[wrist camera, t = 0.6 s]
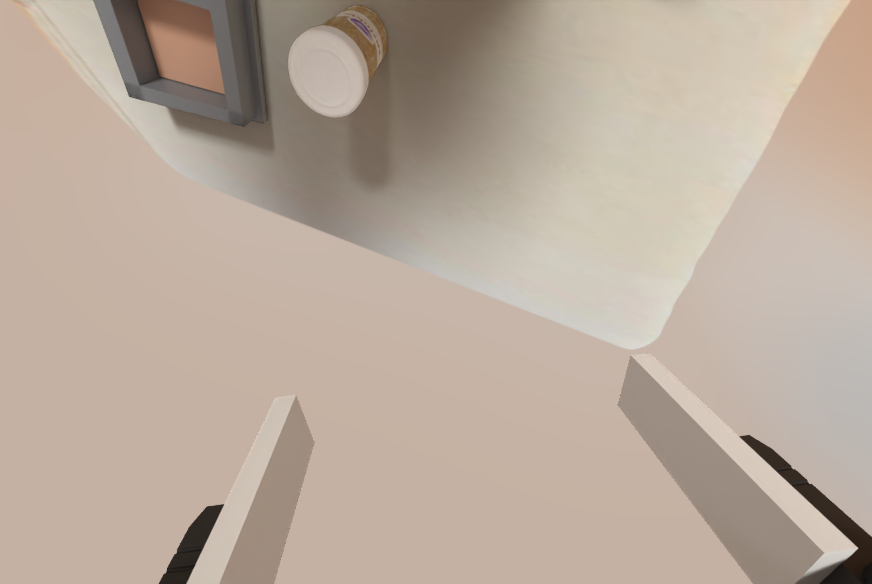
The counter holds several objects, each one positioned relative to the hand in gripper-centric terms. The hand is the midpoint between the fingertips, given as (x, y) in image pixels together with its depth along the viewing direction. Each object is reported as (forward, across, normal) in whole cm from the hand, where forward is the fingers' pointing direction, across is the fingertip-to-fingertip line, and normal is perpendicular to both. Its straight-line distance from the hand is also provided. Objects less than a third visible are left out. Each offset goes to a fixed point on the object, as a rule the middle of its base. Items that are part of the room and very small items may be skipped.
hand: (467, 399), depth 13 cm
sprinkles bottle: (+27, -4, +17) cm, 32 cm away
